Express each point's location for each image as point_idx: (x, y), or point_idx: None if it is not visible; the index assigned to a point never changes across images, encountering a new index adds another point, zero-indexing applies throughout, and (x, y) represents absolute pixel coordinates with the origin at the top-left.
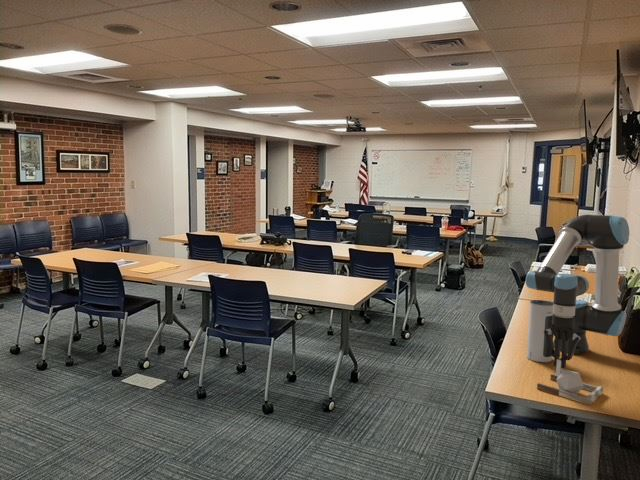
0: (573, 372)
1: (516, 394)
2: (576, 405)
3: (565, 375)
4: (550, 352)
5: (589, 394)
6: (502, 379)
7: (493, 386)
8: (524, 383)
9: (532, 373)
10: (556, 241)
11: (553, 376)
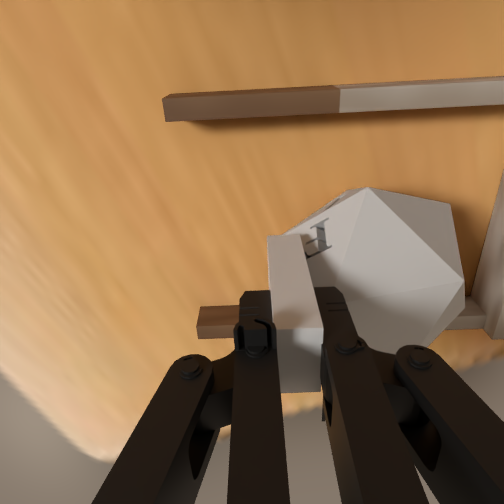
0: (419, 311)
1: None
2: None
3: None
4: (190, 450)
5: (501, 311)
6: (15, 338)
7: (63, 425)
8: (116, 302)
9: (19, 100)
10: None
11: (189, 119)
